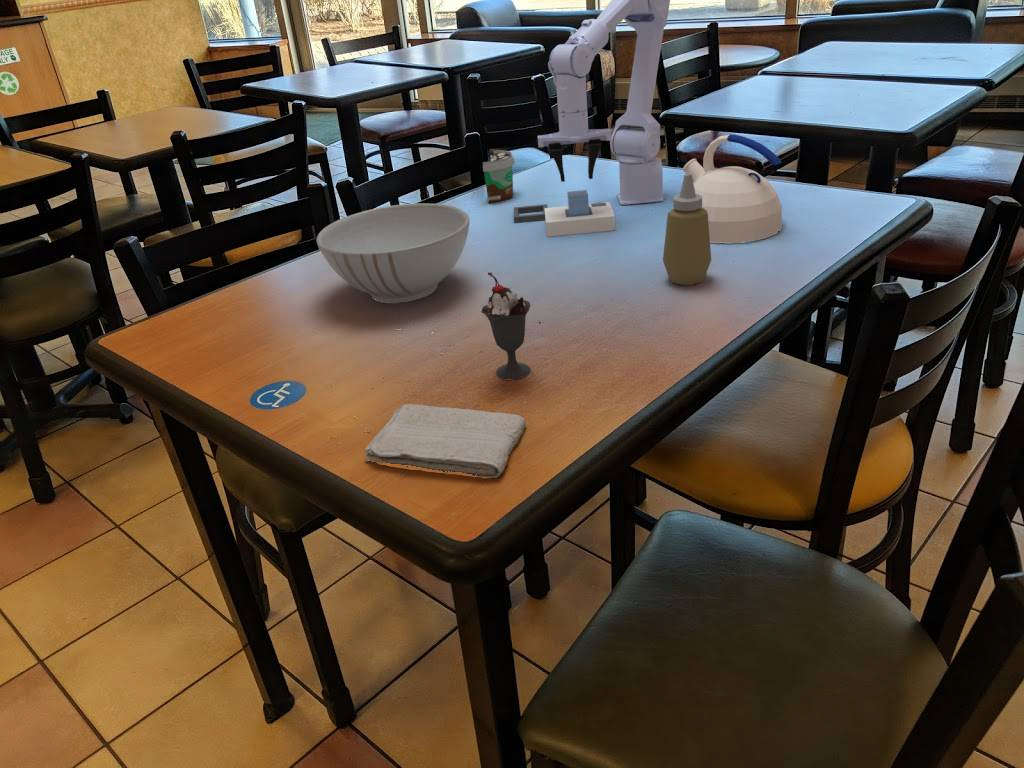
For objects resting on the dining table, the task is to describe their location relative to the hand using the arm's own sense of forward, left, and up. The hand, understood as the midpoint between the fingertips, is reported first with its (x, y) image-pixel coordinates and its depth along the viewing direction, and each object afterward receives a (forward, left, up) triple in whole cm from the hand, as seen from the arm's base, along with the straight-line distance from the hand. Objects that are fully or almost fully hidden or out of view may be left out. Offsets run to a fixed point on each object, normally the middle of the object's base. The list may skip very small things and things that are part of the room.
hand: (576, 179), depth 160 cm
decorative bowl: (+34, +27, -10) cm, 45 cm away
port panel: (0, 0, -10) cm, 10 cm away
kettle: (-29, +9, -10) cm, 32 cm away
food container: (+16, -27, -10) cm, 33 cm away
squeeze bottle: (-16, +34, -10) cm, 39 cm away
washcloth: (+22, +80, -11) cm, 83 cm away
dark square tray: (+10, -10, -10) cm, 17 cm away
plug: (0, 0, -10) cm, 10 cm away
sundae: (+14, +62, -10) cm, 64 cm away
